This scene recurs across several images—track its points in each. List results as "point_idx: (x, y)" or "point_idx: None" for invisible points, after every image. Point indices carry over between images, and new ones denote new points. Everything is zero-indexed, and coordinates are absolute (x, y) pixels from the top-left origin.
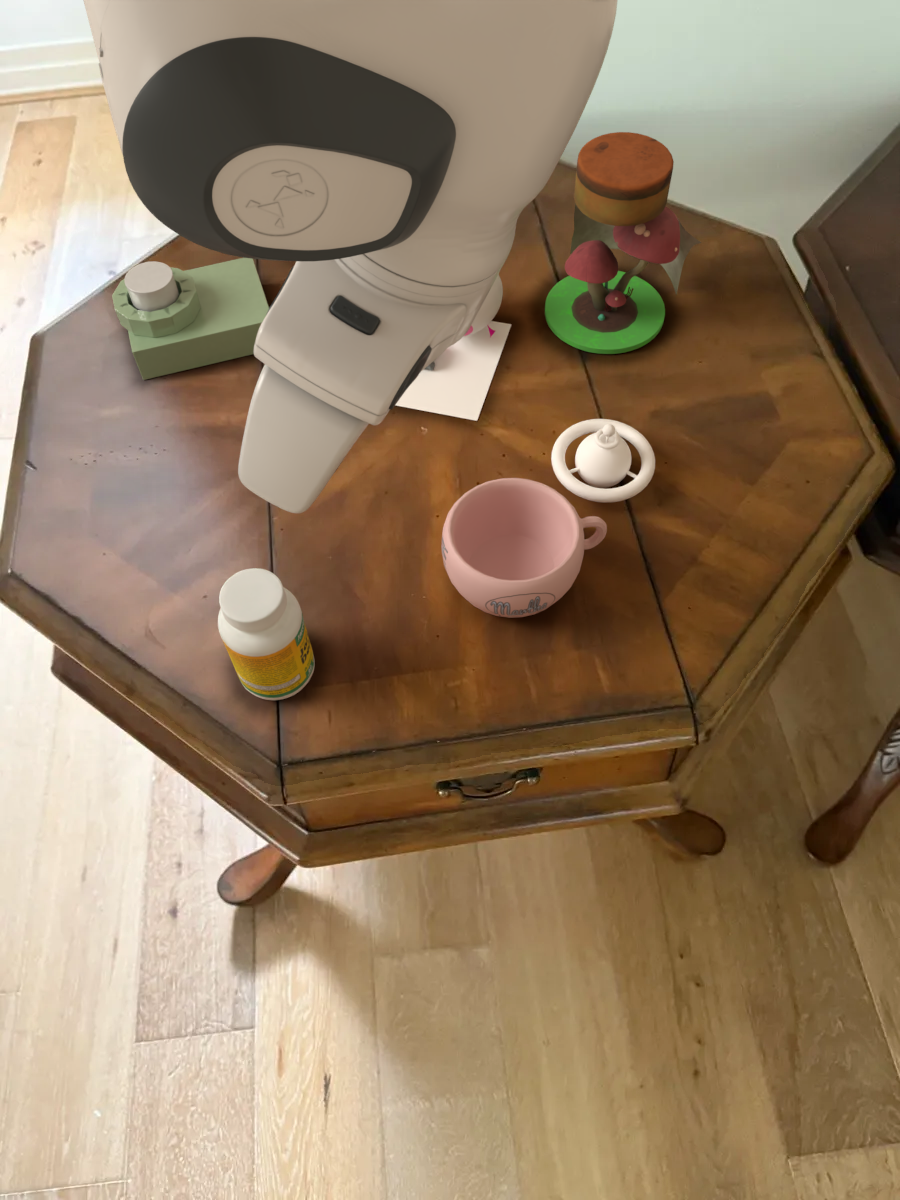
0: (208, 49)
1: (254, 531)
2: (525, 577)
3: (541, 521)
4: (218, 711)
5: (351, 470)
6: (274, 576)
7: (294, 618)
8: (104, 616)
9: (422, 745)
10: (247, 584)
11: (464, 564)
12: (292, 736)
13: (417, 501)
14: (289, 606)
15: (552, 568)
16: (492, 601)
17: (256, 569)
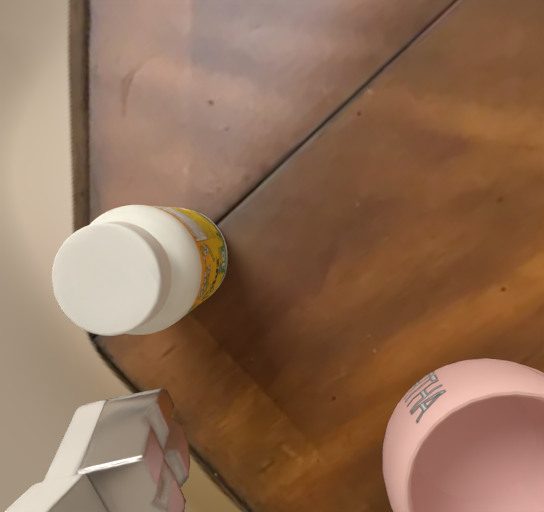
0: None
1: (334, 82)
2: (472, 458)
3: None
4: None
5: (509, 127)
6: (155, 291)
7: (156, 327)
8: (112, 10)
9: (201, 462)
10: (117, 260)
11: (407, 465)
12: None
13: (511, 248)
14: (164, 311)
15: (504, 488)
16: (388, 497)
17: (148, 254)
